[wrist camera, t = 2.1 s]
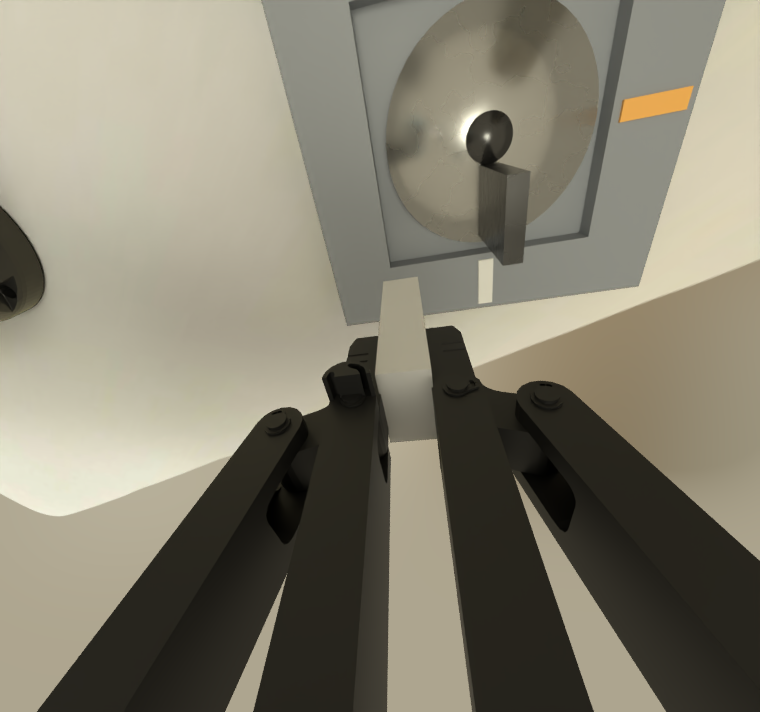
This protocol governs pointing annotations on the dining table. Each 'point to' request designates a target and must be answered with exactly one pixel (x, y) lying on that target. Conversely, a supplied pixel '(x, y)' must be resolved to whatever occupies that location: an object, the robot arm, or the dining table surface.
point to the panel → (552, 228)
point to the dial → (492, 120)
